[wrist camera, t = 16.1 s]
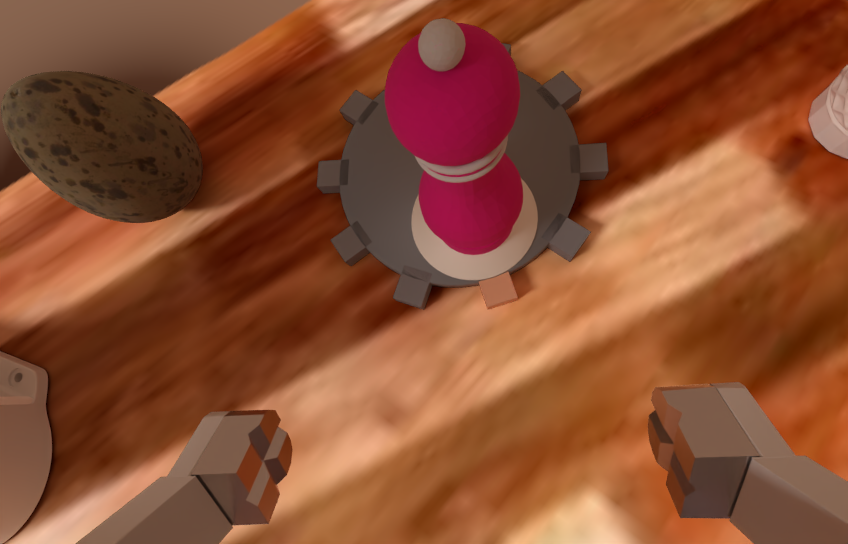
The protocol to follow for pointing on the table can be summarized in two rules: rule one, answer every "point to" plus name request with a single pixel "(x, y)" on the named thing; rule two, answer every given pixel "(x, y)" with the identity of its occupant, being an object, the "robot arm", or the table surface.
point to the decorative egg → (103, 145)
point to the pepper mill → (459, 131)
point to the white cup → (832, 116)
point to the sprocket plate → (401, 214)
